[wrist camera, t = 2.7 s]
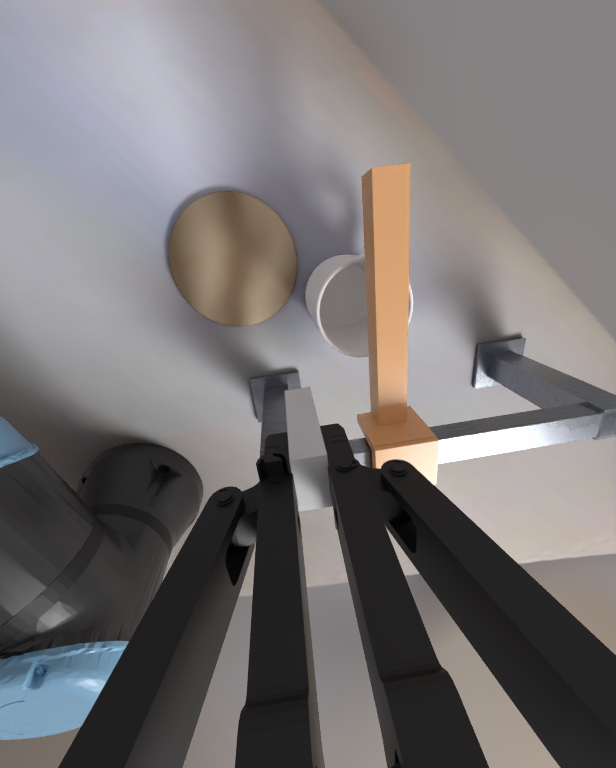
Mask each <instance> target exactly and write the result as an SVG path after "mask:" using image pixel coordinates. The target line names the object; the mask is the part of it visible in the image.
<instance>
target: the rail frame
mask: <svg viewBox="0 0 616 768" xmlns="http://www.w3.org/2000/svg"><path fill="white" fill-rule="evenodd" d="M525 340H526V338H523V337H520V338H514V339H507V340H500V341H494V342H487V343H480V344H477V351H476V360H475V369H474V378H473V387H474V388H481V387H487V386H494V385H500V384H501V385H503V386H504V387H506V388H508V389H510V390H511V391H513V392H515V393H516V394H518V395H520V396H521V397H523V398H525V399H527V400H528V401H530V402H532V403H533V404H535V405H537V406H538V407H540V408H542V409H539V410H533V411H527V412H521V413H515V414H508V415H502V416H496V417H490V418H484V419H478V420H471V421H465V422H459V423H453V424H447V425H441V426H434V427H429V428H430V429H431V431H432V432H433V433H434V434H435V435H436V437H437V439H438V440H439V452H438V464H440V463H446V462H452V461H458V460H464V459H470V458H476V457H482V456H488V455H494V454H499V453H505V452H511V451H517V450H523V449H529V448H535V447H541V446H547V445H553V444H559V443H565V442H571V441H577V440H583V439H589V438H593V439H594V440H599V439H605V438H611V437H616V395H614V394H612V393H609V392H607V391H605V390H602V389H600V388H598V387H595V386H593V385H591V384H588V383H586V382H584V381H581V380H579V379H576V378H574V377H572V376H569V375H567V374H565V373H562V372H560V371H558V370H555V369H553V368H550V367H548V366H546V365H543V364H541V363H539V362H536V361H534V360H532V359H529V358H527V357H525V356H523V352H524V346H525ZM249 380H250V385H251V390H252V394H253V399H254V404H255V408H256V413H257V418H258V422H262V431H261V447H260V457H261V456H263V455H264V449H265V440H266V439H267V437H268V436H269V435H271V434H277V433H284V432H287V417H286V403H285V391H286V390H292V389H299V388H301V386H300V379H299V372H298V371H293V372H286V373H280V374H273V375H266V376H260V377H253V378H250V379H249ZM348 441H349V444H350V446H351V449H352V451H353V454H354V457H355V459H356V460H358V461H359V462H360V464H361V465H363V466H366V467H369V468H373V467H372V450H371V448H370V446H369V444H368V442H367V440H366V438H360V439H354V440H348Z"/></svg>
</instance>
